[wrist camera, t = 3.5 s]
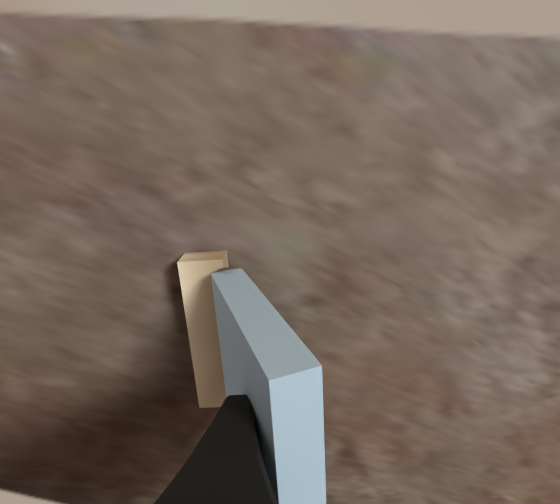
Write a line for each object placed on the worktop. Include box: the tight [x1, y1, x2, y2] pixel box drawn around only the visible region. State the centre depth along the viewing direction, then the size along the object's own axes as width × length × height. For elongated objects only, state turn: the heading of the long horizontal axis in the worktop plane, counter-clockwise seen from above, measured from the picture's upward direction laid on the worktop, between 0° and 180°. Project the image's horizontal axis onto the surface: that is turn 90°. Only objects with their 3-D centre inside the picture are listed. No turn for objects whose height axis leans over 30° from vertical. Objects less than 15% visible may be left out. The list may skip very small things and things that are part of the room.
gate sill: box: [177, 251, 228, 408], centre depth 16 cm, size 2×7×1 cm, turn 3°
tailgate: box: [211, 267, 326, 504], centre depth 12 cm, size 1×6×7 cm, turn 4°
